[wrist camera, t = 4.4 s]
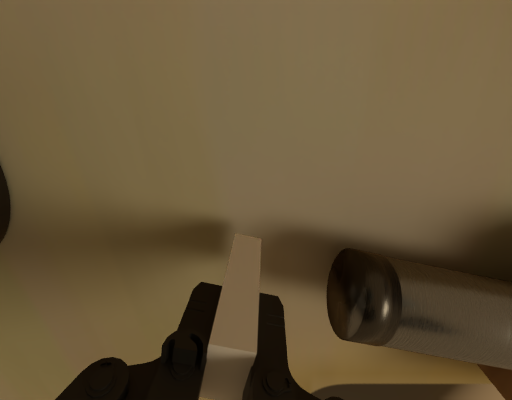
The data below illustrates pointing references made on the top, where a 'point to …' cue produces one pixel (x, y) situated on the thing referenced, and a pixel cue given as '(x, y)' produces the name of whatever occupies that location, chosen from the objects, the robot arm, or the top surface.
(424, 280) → the tube
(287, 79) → the top surface
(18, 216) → the top surface
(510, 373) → the sleeve
